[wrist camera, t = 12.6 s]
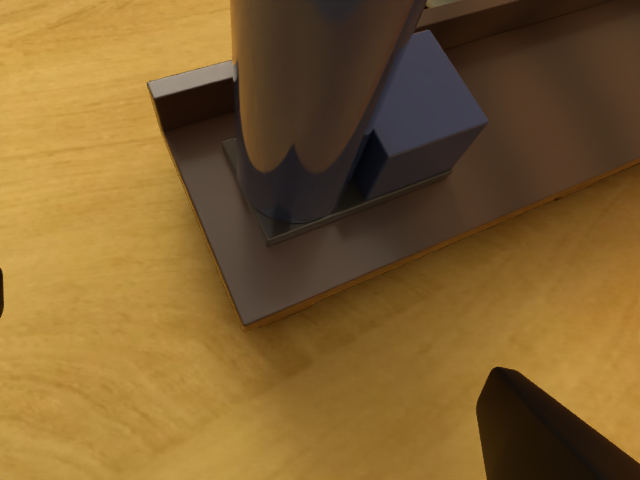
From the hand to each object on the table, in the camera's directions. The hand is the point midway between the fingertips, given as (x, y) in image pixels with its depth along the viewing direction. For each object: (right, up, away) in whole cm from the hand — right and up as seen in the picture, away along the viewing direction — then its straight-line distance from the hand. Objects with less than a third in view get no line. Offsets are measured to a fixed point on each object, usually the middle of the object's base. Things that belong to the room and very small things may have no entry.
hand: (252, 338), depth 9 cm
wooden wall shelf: (+12, +8, +17) cm, 22 cm away
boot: (+2, +5, +10) cm, 12 cm away
